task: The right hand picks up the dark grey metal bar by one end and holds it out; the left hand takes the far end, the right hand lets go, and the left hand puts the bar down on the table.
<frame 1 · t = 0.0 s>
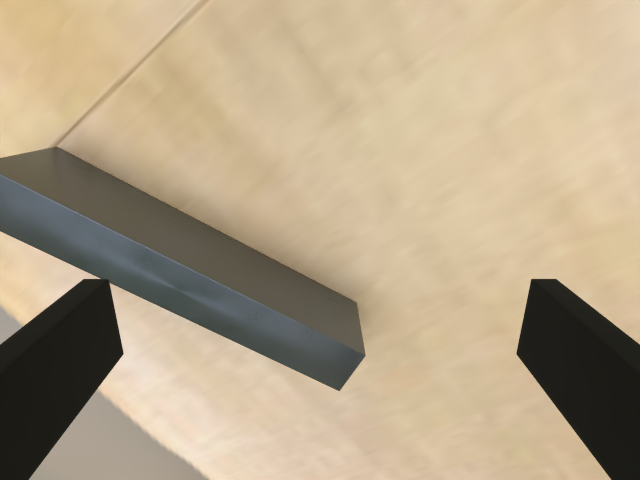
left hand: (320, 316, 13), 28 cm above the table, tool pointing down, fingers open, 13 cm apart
bar: (208, 247, 42), on the table
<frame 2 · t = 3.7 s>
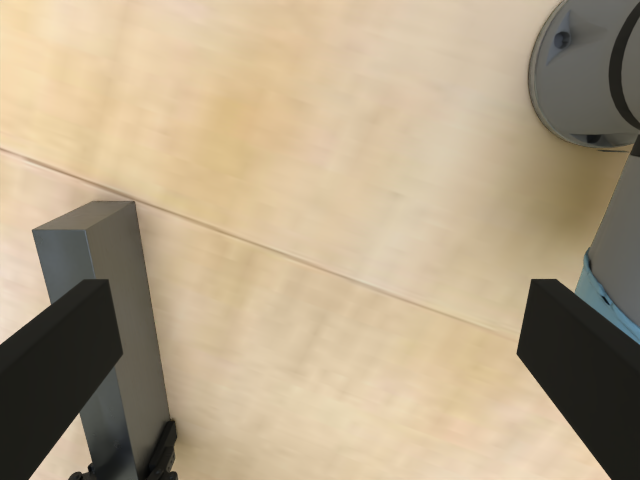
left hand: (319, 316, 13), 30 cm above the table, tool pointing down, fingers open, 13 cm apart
bar: (138, 337, 48), on the table, touching right hand
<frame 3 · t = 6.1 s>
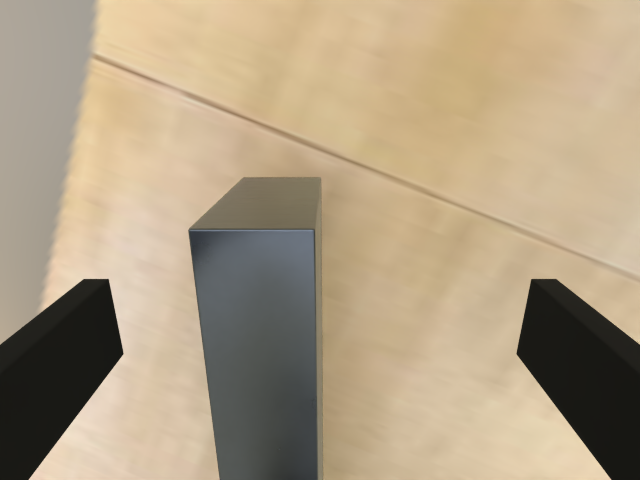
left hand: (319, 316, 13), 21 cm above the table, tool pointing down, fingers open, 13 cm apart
bar: (291, 410, 29), point 9 cm above the table, touching right hand
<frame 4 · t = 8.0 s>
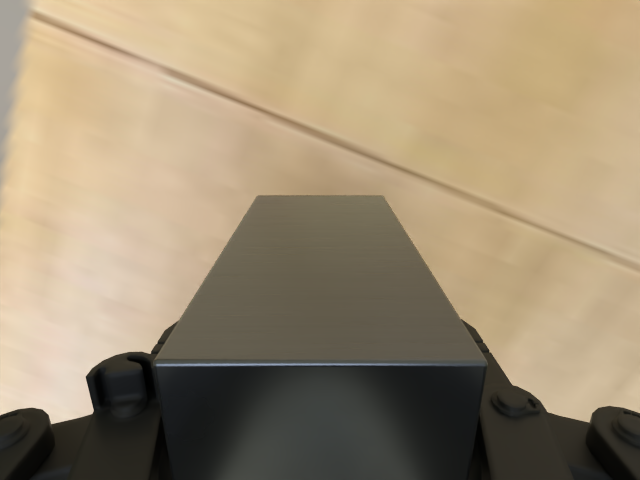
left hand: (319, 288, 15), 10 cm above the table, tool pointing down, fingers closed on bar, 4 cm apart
when the right hand's fingers open (10 cm above the table, at t = 8.7 s): bar stays where it is, held by the left hand.
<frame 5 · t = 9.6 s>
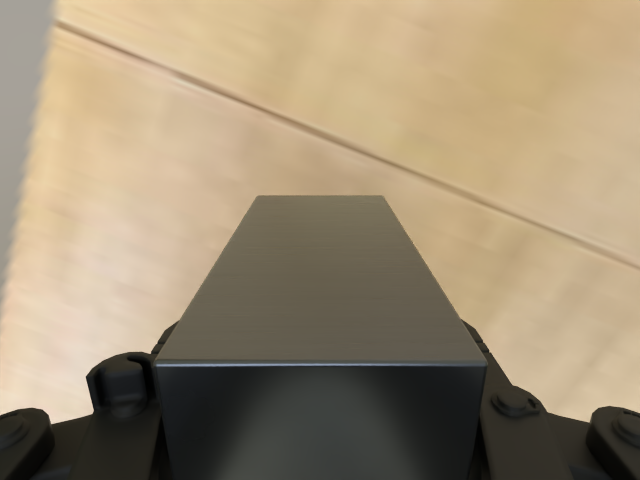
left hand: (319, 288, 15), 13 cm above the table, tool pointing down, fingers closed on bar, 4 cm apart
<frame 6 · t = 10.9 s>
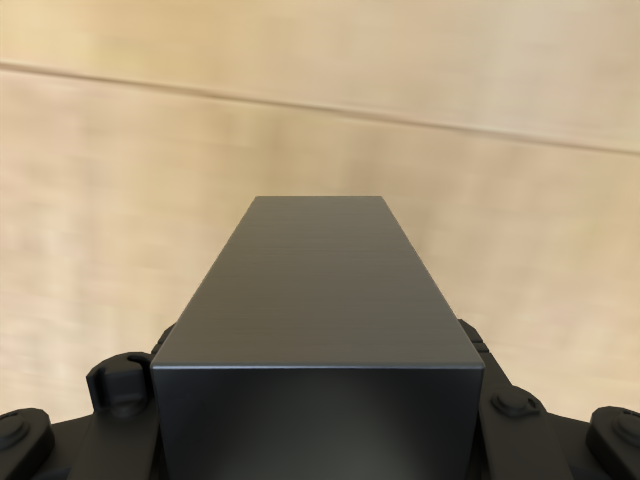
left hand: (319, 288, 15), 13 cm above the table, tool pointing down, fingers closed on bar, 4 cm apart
when the left hand's fingers open (2 cm above the table, at t = 13.7 s): bar drops 1 cm, on the table.
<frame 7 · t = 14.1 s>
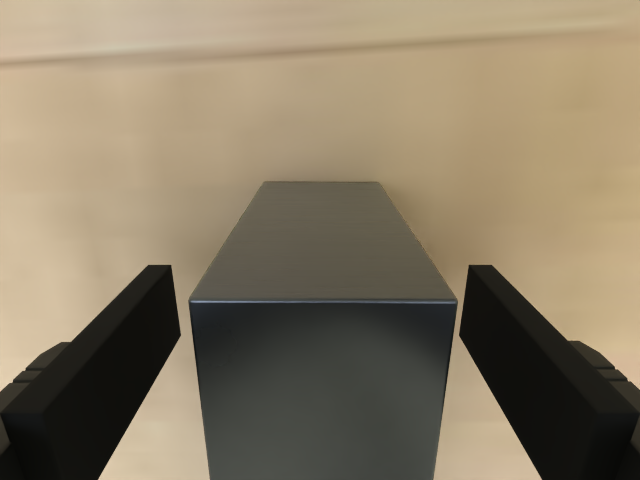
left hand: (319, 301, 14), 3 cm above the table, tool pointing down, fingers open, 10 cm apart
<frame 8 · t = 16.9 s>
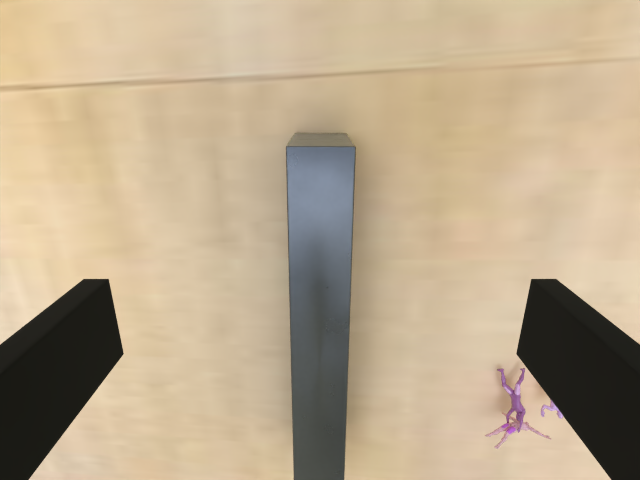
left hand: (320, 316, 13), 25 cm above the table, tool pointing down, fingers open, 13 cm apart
bar: (319, 304, 41), on the table
people figure: (551, 380, 44), on the table
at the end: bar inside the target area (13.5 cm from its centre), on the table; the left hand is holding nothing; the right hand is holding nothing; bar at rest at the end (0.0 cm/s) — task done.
